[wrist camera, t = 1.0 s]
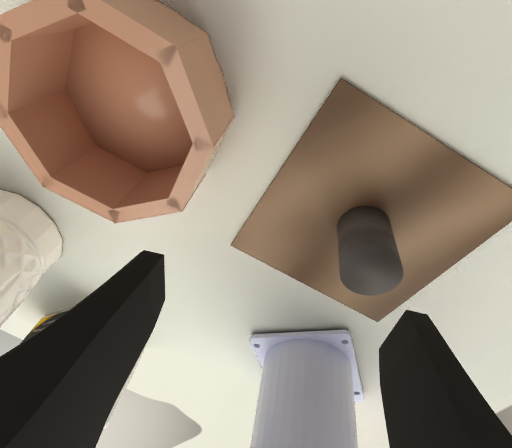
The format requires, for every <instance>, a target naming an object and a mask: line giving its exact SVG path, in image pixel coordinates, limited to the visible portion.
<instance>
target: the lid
mask: <svg viewBox="0 0 512 448" xmlns="http://www.w3.org/2000/svg"><path fill="white" fill-rule="evenodd" d="M511 221H512V188H511V187H509V186H508V185H506V184H505V183H503V182H501V181H500V180H498V179H497V178H495V177H494V176H492V175H491V174H489V173H487V172H486V171H484V170H483V169H481V168H480V167H478V166H477V165H475V164H474V163H472V162H470V161H469V160H467V159H466V158H464V157H463V156H461V155H460V154H458V153H456V152H455V151H453V150H452V149H450V148H449V147H447V146H446V145H444V144H443V143H441V142H439V141H438V140H436V139H435V138H433V137H432V136H430V135H429V134H427V133H425V132H424V131H422V130H421V129H419V128H418V127H416V126H415V125H413V124H411V123H410V122H408V121H407V120H405V119H404V118H402V117H401V116H399V115H398V114H396V113H394V112H393V111H391V110H390V109H388V108H387V107H385V106H384V105H382V104H380V103H379V102H377V101H376V100H374V99H373V98H371V97H370V96H368V95H367V94H365V93H363V92H362V91H360V90H359V89H357V88H356V87H354V86H353V85H351V84H349V83H348V82H346V81H345V80H343V79H342V78H340V80H339V81H338V83H337V84H336V86H335V88H334V89H333V91H332V92H331V94H330V95H329V97H328V98H327V100H326V101H325V103H324V104H323V106H322V107H321V109H320V110H319V112H318V113H317V115H316V116H315V118H314V119H313V121H312V122H311V124H310V125H309V127H308V128H307V130H306V131H305V133H304V135H303V136H302V138H301V139H300V141H299V142H298V144H297V145H296V147H295V148H294V150H293V151H292V153H291V154H290V156H289V157H288V159H287V160H286V162H285V163H284V165H283V166H282V168H281V169H280V171H279V172H278V174H277V175H276V177H275V178H274V180H273V181H272V183H271V185H270V186H269V188H268V189H267V191H266V192H265V194H264V195H263V197H262V198H261V200H260V201H259V203H258V204H257V206H256V207H255V209H254V210H253V212H252V213H251V215H250V216H249V218H248V219H247V221H246V222H245V224H244V225H243V227H242V228H241V230H240V232H239V233H238V235H237V236H236V238H235V239H234V241H233V242H232V244H231V246H233V247H235V248H237V249H238V250H240V251H242V252H244V253H246V254H248V255H250V256H252V257H254V258H256V259H258V260H260V261H262V262H263V263H265V264H267V265H269V266H271V267H273V268H275V269H277V270H279V271H281V272H283V273H285V274H286V275H288V276H290V277H292V278H294V279H296V280H298V281H300V282H302V283H304V284H306V285H308V286H309V287H311V288H313V289H315V290H317V291H319V292H321V293H323V294H325V295H327V296H329V297H331V298H333V299H334V300H336V301H338V302H340V303H342V304H344V305H346V306H348V307H350V308H352V309H354V310H356V311H357V312H359V313H361V314H363V315H365V316H367V317H369V318H371V319H373V320H375V321H377V322H378V321H380V320H381V319H382V318H384V317H385V316H386V315H388V314H389V313H390V312H392V311H393V310H394V309H396V308H397V307H398V306H400V305H401V304H402V303H404V302H405V301H406V300H408V299H409V298H410V297H412V296H413V295H414V294H416V293H417V292H418V291H420V290H421V289H422V288H424V287H425V286H426V285H428V284H429V283H430V282H432V281H433V280H434V279H436V278H437V277H438V276H440V275H441V274H442V273H444V272H445V271H446V270H448V269H449V268H450V267H452V266H453V265H454V264H456V263H457V262H458V261H460V260H461V259H462V258H464V257H465V256H466V255H468V254H469V253H470V252H472V251H473V250H474V249H476V248H477V247H478V246H479V245H481V244H482V243H483V242H485V241H486V240H487V239H489V238H490V237H491V236H493V235H494V234H495V233H497V232H498V231H499V230H501V229H502V228H503V227H505V226H506V225H507V224H509V223H510V222H511Z"/></svg>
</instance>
